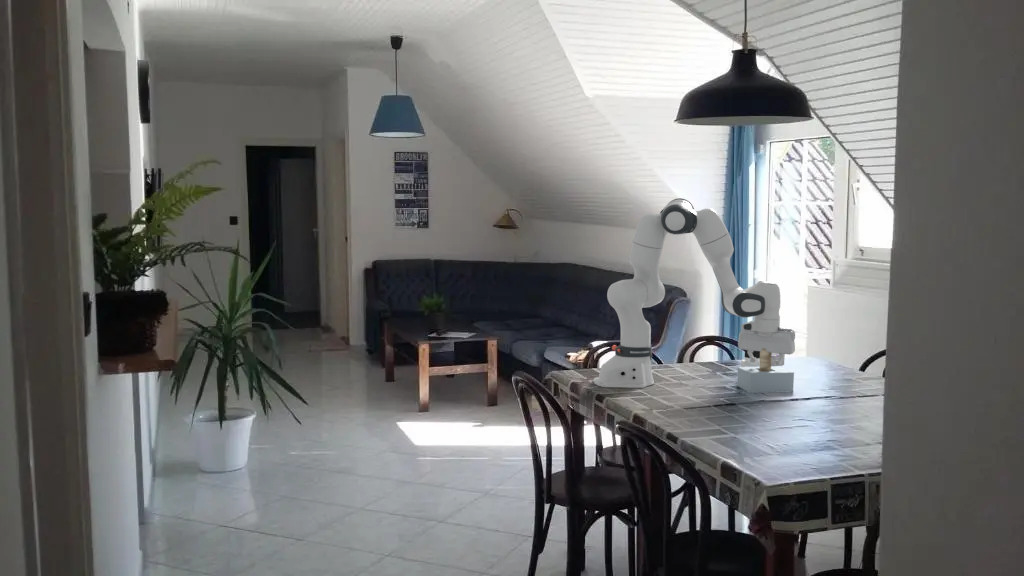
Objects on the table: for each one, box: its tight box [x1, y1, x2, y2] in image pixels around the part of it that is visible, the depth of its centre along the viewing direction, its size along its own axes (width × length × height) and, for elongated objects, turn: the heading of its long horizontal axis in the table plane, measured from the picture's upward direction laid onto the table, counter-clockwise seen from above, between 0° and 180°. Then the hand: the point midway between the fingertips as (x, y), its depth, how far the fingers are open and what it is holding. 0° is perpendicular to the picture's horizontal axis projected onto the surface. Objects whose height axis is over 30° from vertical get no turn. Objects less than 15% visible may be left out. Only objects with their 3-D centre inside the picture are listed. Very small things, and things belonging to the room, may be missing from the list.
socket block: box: [736, 366, 795, 394], centre depth 319 cm, size 16×12×7 cm
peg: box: [759, 348, 772, 371], centre depth 318 cm, size 4×4×14 cm
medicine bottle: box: [740, 350, 760, 367], centre depth 334 cm, size 7×7×12 cm
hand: (765, 364), depth 318 cm, fingers open, 8 cm apart
